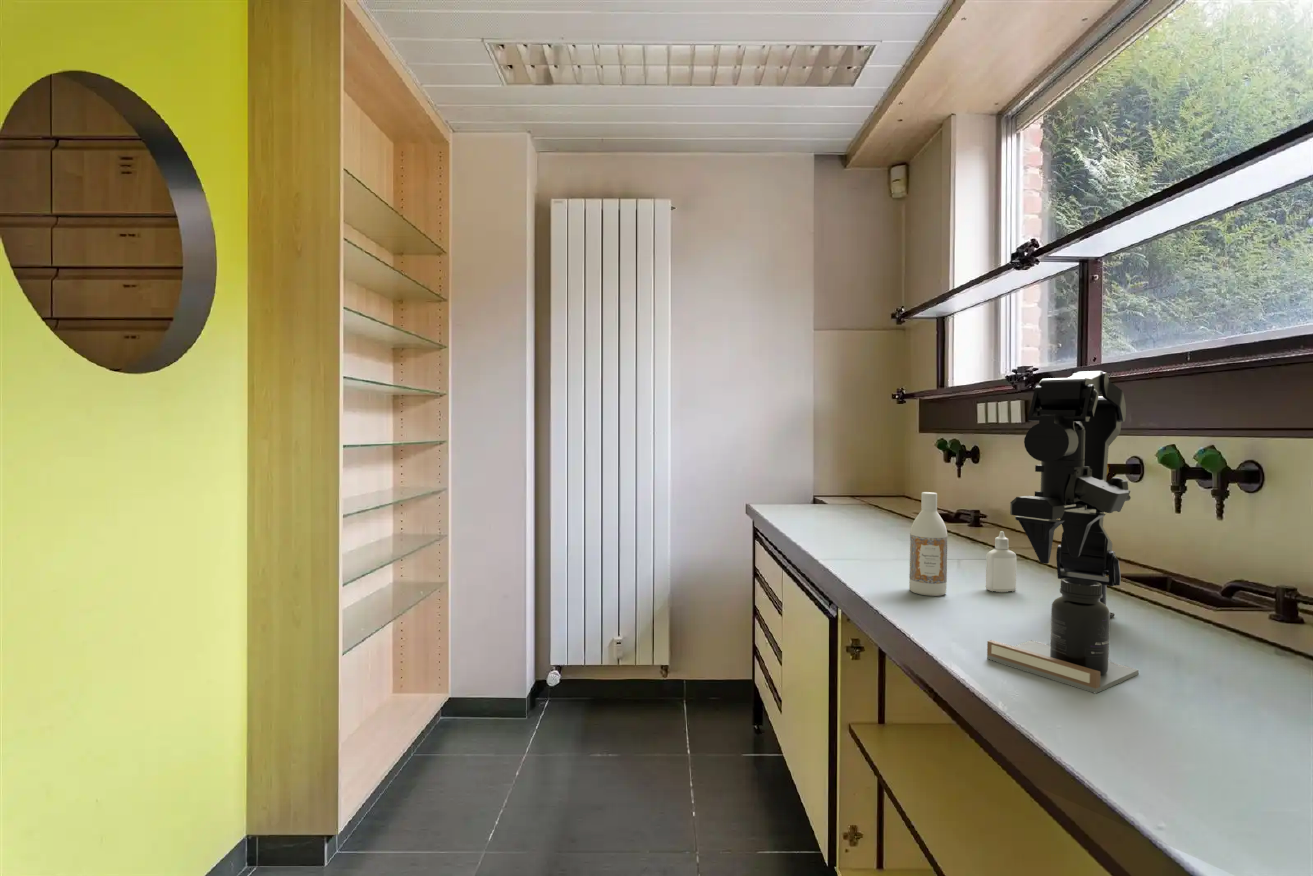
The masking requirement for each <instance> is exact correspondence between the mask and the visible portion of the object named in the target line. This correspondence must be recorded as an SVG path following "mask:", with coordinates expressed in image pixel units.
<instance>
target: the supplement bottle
mask: <svg viewBox="0 0 1313 876" xmlns="http://www.w3.org/2000/svg"><path fill="white" fill-rule="evenodd" d="M1059 593H1060V594H1061V596H1060V597H1057V598H1055V599H1054V600H1053V601H1052V602H1051V609H1050V610H1051V611H1050V612H1051V617H1050V644H1049V645H1050V657H1052V658H1055V659H1059V660H1062V661H1066V662H1069V663H1072V664H1076V665H1079V666H1083V667H1086V668H1090V669H1093V670H1097V671H1100V676H1102V675H1104V674H1106V673H1107V671H1108V662H1110V661H1109V657H1110V631H1111V630H1110V628H1111V623H1110V622H1111V618H1110V612H1111V611H1110V609H1109V608H1108V606H1107V604H1106V605H1105V604H1103V603H1102V602H1100V598H1102V584H1101V583H1099V582H1096V581H1091V580H1086V579H1078V578H1064V579H1060V588H1059Z"/></svg>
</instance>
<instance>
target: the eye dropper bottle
mask: <svg viewBox="0 0 1313 876" xmlns="http://www.w3.org/2000/svg"><path fill="white" fill-rule="evenodd" d="M985 559H986V560H985V561H986V563H985V565H986V567H985V589H986V590H988V591H990V592H993V591H996V592H995V593H1009V592H1008V591H1012V592H1015V591H1016V589H1017V554H1016V553H1015V552H1014V551H1012V550H1010V549H1009V538H1008V537H1006V535H1005V532H1004V531H1003V530H1001V531H999V534H998V536H997V537H995V539H994V548H993V549H992V550H990V551H988V552H987V553H986V558H985ZM1006 591H1007V592H1006Z"/></svg>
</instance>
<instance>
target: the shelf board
mask: <svg viewBox="0 0 1313 876" xmlns="http://www.w3.org/2000/svg"><path fill="white" fill-rule="evenodd" d="M986 645H987V649H986V651H987V652H986V659H987V660H989V659H990V661H992V660H993V661H992V662H995V661H996V662H995V663H998V664H1002V665H1005V666H1008V667H1011V668H1015V669H1017V668H1018V670H1020V669H1021V670H1020V671H1024V672H1027V673H1030V674H1033V675H1036V676H1040V677H1043V678H1046V679H1049V680H1053V681H1056V682H1059V683H1062V684H1065V685H1068V686H1072V687H1074V688H1078V689H1081V690H1084V691H1087V692H1091V693H1094V694H1098V693H1100V692H1102V691H1104V690H1106V689H1107V690H1108V689H1109V688H1111V687H1113V686H1116V685H1117V684H1120V683H1122V682H1124V681H1127V680H1129V679H1132V678H1133V677H1136V676H1138V675H1139V674H1140V673H1139V672H1140V671H1139V669H1137V668H1133V667H1130V666H1126V665H1123V664H1118V663H1115V662H1111V661H1108V671H1107V673H1106V674H1104V675H1102V676H1100V671H1097V670H1093V669H1090V668H1086V667H1083V666H1079V665H1076V664H1072V663H1069V662H1066V661H1062V660H1059V659H1055V658H1052V657H1050V644H1046V643H1043V642H1039V641H1036V640H1035V641H1034V640H1032V639H1031V640H1028V641H1025V642H1022V643H1020V644H1019V643H1018V644H1016V645H1009V644H1007V643H1003V642H1000V641H997V640H992V639H990V640H987V644H986Z"/></svg>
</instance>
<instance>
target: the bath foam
mask: <svg viewBox="0 0 1313 876" xmlns="http://www.w3.org/2000/svg"><path fill="white" fill-rule="evenodd" d="M920 507H921V508H920V509H921V510H920V512H919V513H918V514H917V516H916V517H915V519H914V520H913V522H912V524H911V526H910V533H909V574H908V575H909V580H908V581H909V583H908V584H909V586H908V587H909V590H910V591H911V593H914V594H916V595H920V596H927V597H928V596H929V597H940V596H944V595H945V594H946V593H947V585H948V584H947V583H948V581H947V579H948V529H947V526H946V523H945V521H944V520H943V518H942V517H941V515H940V514H939V512H938V493H937V492H933V491H932V492H929V491H922V492H921V506H920Z"/></svg>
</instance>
